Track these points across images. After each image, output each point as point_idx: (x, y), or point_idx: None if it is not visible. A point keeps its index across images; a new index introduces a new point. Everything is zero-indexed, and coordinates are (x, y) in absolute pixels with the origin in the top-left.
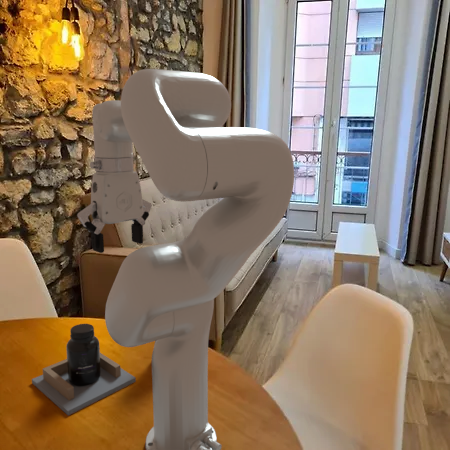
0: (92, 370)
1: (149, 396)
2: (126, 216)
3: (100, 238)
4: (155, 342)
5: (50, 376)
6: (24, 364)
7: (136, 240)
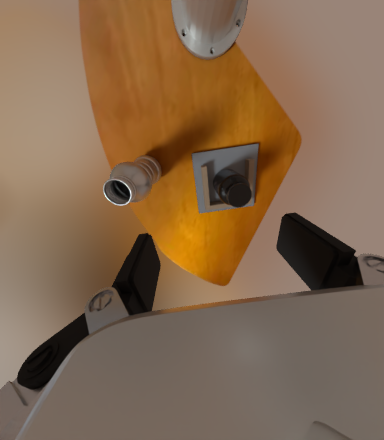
0: (227, 170)
1: (193, 120)
2: (257, 338)
3: (336, 238)
4: (157, 178)
5: (251, 190)
6: (243, 230)
7: (154, 251)
